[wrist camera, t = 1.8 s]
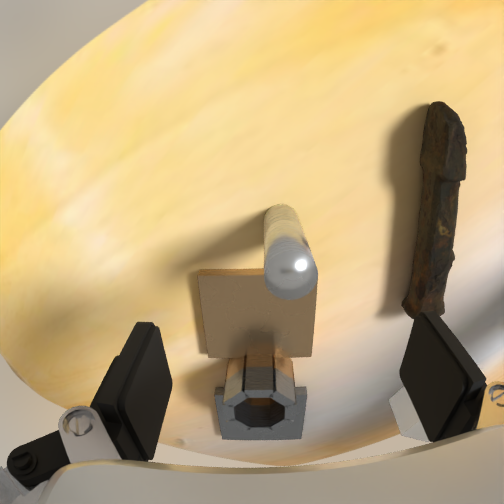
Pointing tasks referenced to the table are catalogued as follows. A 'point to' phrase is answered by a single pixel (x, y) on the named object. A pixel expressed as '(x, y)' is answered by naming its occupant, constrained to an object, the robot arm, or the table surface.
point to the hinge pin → (287, 255)
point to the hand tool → (437, 208)
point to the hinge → (256, 353)
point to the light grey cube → (407, 416)
